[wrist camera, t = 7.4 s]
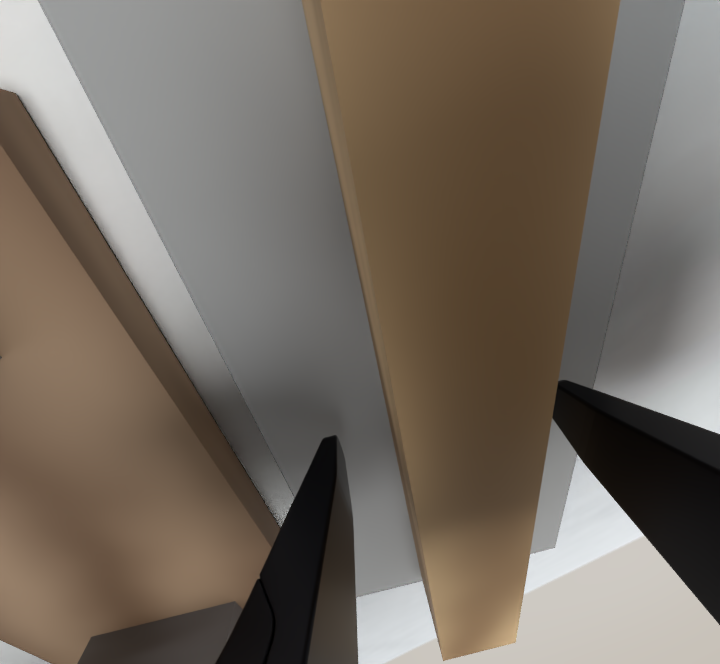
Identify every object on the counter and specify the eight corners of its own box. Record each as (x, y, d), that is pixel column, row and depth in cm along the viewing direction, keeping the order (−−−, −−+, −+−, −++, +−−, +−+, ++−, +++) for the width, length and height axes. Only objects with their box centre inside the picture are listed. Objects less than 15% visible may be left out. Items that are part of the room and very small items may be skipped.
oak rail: (420, 571, 14) (443, 660, 11) (259, -201, 4) (114, -1108, 1) (478, 556, 14) (515, 642, 11) (475, -246, 4) (822, -1225, 1)
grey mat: (346, 585, 15) (347, 599, 14) (-44, -208, 4) (-102, -271, 3) (546, 535, 15) (554, 547, 15) (730, -369, 4) (793, -454, 3)
